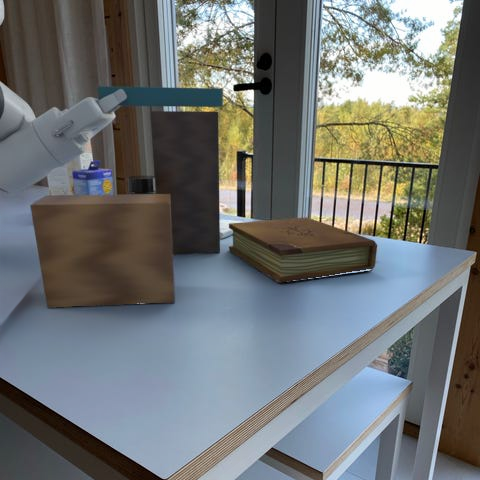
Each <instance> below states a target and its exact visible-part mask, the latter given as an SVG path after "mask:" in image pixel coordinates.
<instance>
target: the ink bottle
mask: <svg viewBox="0 0 480 480" xmlns="http://www.w3.org/2000/svg"><path fill="white" fill-rule="evenodd" d="M127 188H128V194H156V190H155V175H131V176H127Z"/></svg>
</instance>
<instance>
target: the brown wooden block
mask: <svg viewBox="0 0 480 480" xmlns="http://www.w3.org/2000/svg"><path fill="white" fill-rule="evenodd" d="M29 206H30V213H31V218H32V224H33V230H34V235H35V236H34V237H35V242H36V243H35V244H36V248H37V255H38V260H39V266H40V272H41V278H42V279H41V280H42V284H43V290H44V296H45V302H46V309H57V308H56V307H64V308H73V307H72V306H89V307H105V306H104V305H115V306H124V305H123V304H137V303H139V304H140V303H165V304H171V303H170V302H175V303H176V279H175V261H174V254H173V238H172V219H171V199H170V194H129V193H128V194H113V195H50V194H49V195H45V196H42V197H41V198H39V199H37V200H36V201H34V202H33V203H31V204H30V205H29ZM168 302H169V303H168ZM120 304H121V305H120ZM96 305H97V306H96ZM100 305H102V306H100ZM140 305H141V304H140ZM70 306H71V307H70Z"/></svg>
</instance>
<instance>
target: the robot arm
mask: <svg viewBox="0 0 480 480" xmlns="http://www.w3.org/2000/svg"><path fill="white" fill-rule="evenodd" d="M3 21H5V3H4V0H0V26H1V25H2V24H3V23H4V22H3ZM126 99H127V95H126V93H125V91H124V90H123V89H119V90H118V91H116V92H114V93H113V94H110V95H108V96H106V97H104V98H102V99H101V100H99V98H96V97H93V96H88V97H86V98H84V99H81V101H79V102H78V103H76V104H75V105H73V106H72V107H70V108H65V109H63V110H61V109H59V108H58V107H57V106H53V107H51V108H50V109H48V110H47V111H46V112H43V113H42V114H41V115H39V116H38V117H36V114H35V112H34V110H33V108H32V107H31V106H30V105H29V104H28V103H27V101H25V99H23V98H22V97H20V96H19V95H18V94H17V93H16V92H15V91H13V90H11V88H9V87H8V86H7V85H5V84H4V83H3V82H2V81H1V80H0V191H3V192H4V193H7V194H16V193H18V192H21V191H24V190H25V189H28V188H29V187H31V186H33V185H35V184H36V183H38V182H40V181H42V180H43V179H45V178H47V175H48V174H49V173H50V172H51V171H52V170H53V169H55V168H57V167H61V166H64V165H65V164H67V163H68V162H70V161H72V160H73V159H75V158H76V157H78V156H80V155H81V154H83V153H84V152H85V147H86V145H87V144H88V141H89V140H90V139H92V138H93V137H95V136H96V135H97V134H98V133H100V132H101V131H102V130H103V129H105V128H106V127H107V126H108V125H109V124H110V123H112V122H113V120H115V119H116V117H117V116H116V114H115V111H117V110H118V109H119V108H120V107H121V106H117V105H118V104H119V103H121V102H123V101H124V100H126Z"/></svg>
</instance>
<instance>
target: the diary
mask: <svg viewBox="0 0 480 480" xmlns="http://www.w3.org/2000/svg"><path fill="white" fill-rule="evenodd" d="M241 222H242V223H230V224H229V228H230V229H232V230H233V235H232V245H230V246H228V251H229V250H230V251H231V252H230V251H229V252H230V253H232V252H233V253H234V254H233V253H232V254H233V255H235V254H236V255H237V256H236V255H235V256H236V257H238V256H239V257H240V258H239V257H238V258H239V259H241V258H242V259H241V260H243V261H244V260H245V261H244V262H245V263H247V262H248V263H247V264H248V265H250V264H251V265H250V266H252V265H253V266H254V267H253V266H252V267H253V268H255V267H256V268H257V269H256V268H255V269H256V270H258V269H259V270H258V271H260V270H261V271H262V272H261V271H260V272H261V273H263V272H264V273H265V274H264V273H263V274H264V275H266V274H267V275H269V276H270V277H272V278H273V279H275V280H277V281H278V282H287V281H293V280H301V279H308V278H316V277H322V276H329V275H335V274H340V273H346V272H352V271H360V270H366V269H372V270H373V269H374V268H375V267H376V262H377V261H376V260H377V253H378V252H377V251H378V244H377V242H376V240H374V239H371V238H369V237H365V236H363V235H360V234H357V233H354V232H351V231H347V230H345V229H342V228H339V227H337V226H333V225H331V224H327V223H325V222H322V221H319V220H316V219H313V218H310V217H307V216H306V217H296V218H295V217H294V218H283V219H281V218H280V219H269V220H255V221H241ZM267 275H266V276H267ZM269 276H268V277H269ZM270 277H269V278H270ZM272 278H271V279H272ZM273 279H272V280H273ZM275 280H274V281H275ZM277 281H276V282H277ZM278 282H277V283H278Z"/></svg>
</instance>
